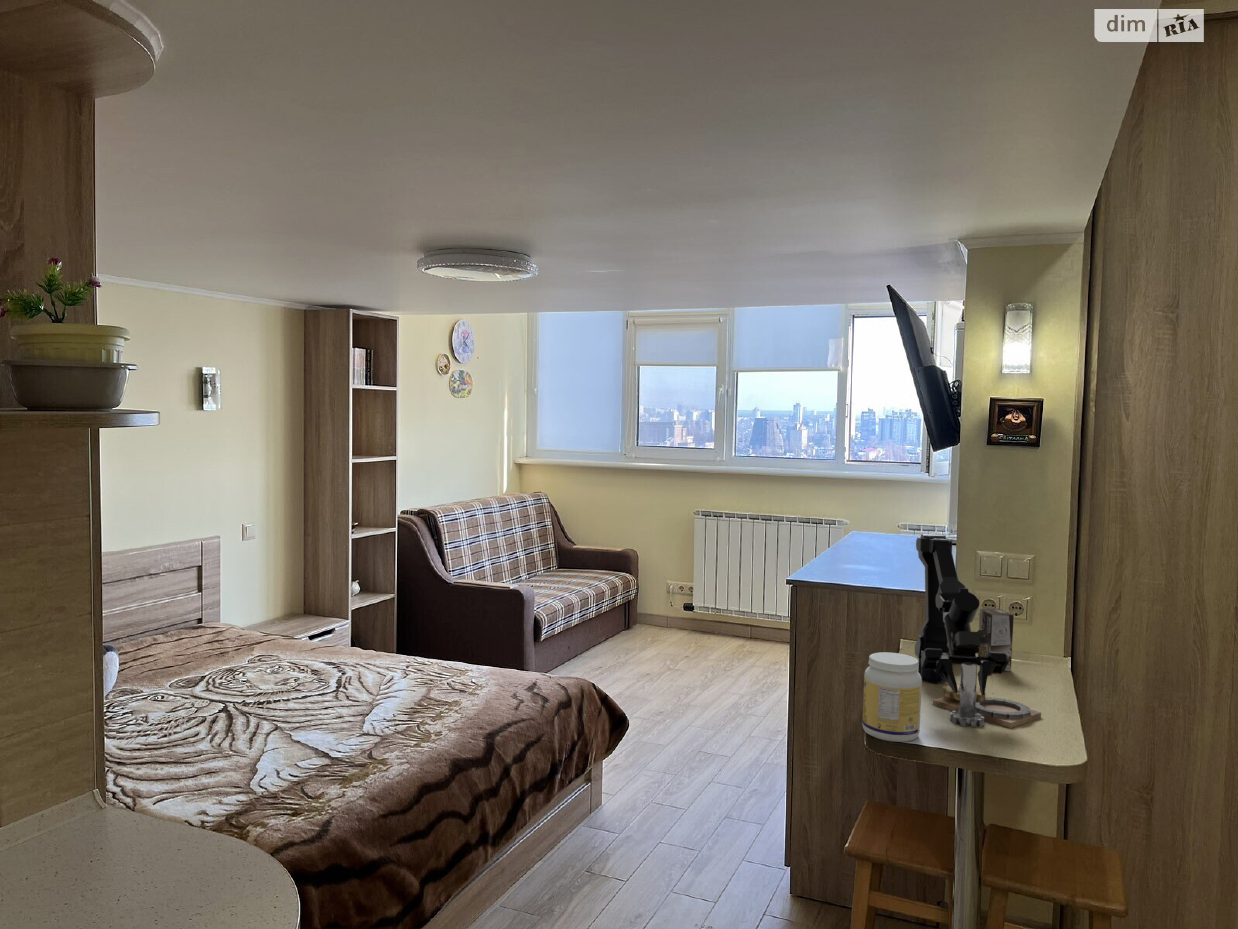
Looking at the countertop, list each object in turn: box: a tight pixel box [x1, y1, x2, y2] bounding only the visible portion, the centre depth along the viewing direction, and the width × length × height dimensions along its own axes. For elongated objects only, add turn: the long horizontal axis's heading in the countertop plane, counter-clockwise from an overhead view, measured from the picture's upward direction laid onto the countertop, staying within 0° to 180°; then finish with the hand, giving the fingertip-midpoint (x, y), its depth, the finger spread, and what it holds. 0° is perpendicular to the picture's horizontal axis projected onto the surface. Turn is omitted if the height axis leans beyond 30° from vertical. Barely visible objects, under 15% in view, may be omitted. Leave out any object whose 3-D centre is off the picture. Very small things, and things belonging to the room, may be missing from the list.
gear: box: [949, 662, 985, 728], centre depth 203 cm, size 7×7×14 cm
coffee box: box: [977, 608, 1015, 672], centre depth 252 cm, size 9×6×16 cm
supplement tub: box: [861, 651, 923, 743], centre depth 193 cm, size 12×12×17 cm
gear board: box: [932, 683, 1042, 729], centre depth 212 cm, size 21×14×5 cm, turn 37°
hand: (969, 693), depth 201 cm, fingers open, 6 cm apart
